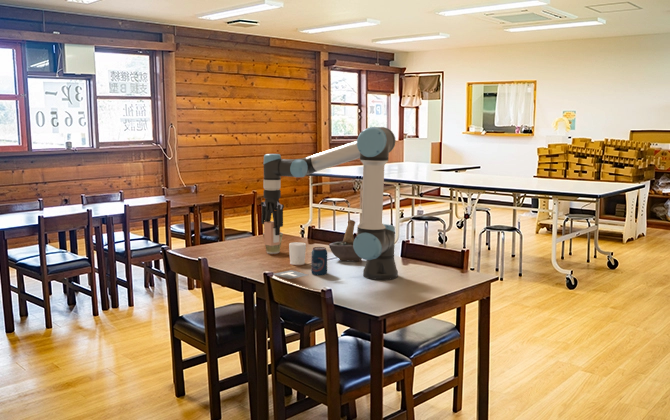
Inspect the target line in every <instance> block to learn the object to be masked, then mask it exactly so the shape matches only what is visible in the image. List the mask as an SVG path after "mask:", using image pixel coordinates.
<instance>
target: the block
mask: <svg viewBox="0 0 670 420" xmlns="http://www.w3.org/2000/svg"><path fill="white" fill-rule="evenodd" d="M273 227H274V221H273V220H270V221H269V222H264V224H263V233H264V237H263V244H264V245H269V246H274V245H280V234H279V242H276V243H273Z"/></svg>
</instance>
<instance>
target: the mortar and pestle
mask: <svg viewBox="0 0 670 420" xmlns="http://www.w3.org/2000/svg"><path fill="white" fill-rule="evenodd" d="M355 225H356V221H355V220H353V219H349V220H348V221H347V227H346V229H345V233H344V237H343V240H342V241H335V242H331V243H329V244H328V246H329V249H330V251H331V253H332V254H333V256H335V257H336V258H338V259H339V261H341V262H359V261H362V260H363V259H362V258H360V257H359V256H358V255H357V254H356V253H355V251H354V248H353V242H354V239H355V238H354V230H355Z"/></svg>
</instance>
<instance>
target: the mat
mask: <svg viewBox="0 0 670 420" xmlns="http://www.w3.org/2000/svg"><path fill="white" fill-rule="evenodd" d="M273 275H274V276H278V277H281V278H284V279H287V280H291V279H296V278H301V277H307V276H308V274H306V273H304V272H300V271H297V270H293V269H292V270H286V271H281V272H275V273H273Z"/></svg>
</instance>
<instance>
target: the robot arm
mask: <svg viewBox="0 0 670 420" xmlns="http://www.w3.org/2000/svg"><path fill="white" fill-rule="evenodd" d="M395 146H396V136H395V133H394V132H393V131H392V130H391V129H390V128H387V127H386V126H385V127H384V126H370V127H367V128H365V129H363V130H362V131H361V132H359V135H357V138H356V140H355V141H352V142H348V143H345V144H344V145H339V146H337V147H334V148H331V149H327V150H325V151H322V152H321V151H320V152H319V153H315V154H313V155H308V156H307V157H303V158H302V157H301V158H293V159H292V158H289V159H288V158H282V156H281V154H279V153H266V154H264V155H263V163H262V166H263V182H262V183H263V189H264V190H263V198H264V201H261V202H260V207H261V214H260V215H261V225H264V222H269V221H274V227H273V243H276V242H279V234H280V232H281V228H282V227H284V207H285V205H284V204H281V203H280V198H282V197H281V195H282V193H281V191H282V190H281V186H282V185H281V184H282V183H281V179H282V177H290V178H304V177H305V176H307V175H308V176H309V175H312V174H314V173H317V172H319V171H323V170H326V169H329V168H333V167H335V166H338V165H342V164H345V163H348V162H349V163H350V162H351V161H355V160H358V159H359V161H360V162H361V163H362V166H363V167H362V169H363V171H362V195H361V198H362V199H361V220H360V221H361V222H360V223H359V224H358V225H357V227H356V228H357V229H356V230H357V231H356V236H355V238H354V242H353V248H354V251H355V253H356V254H357V255H358V256H359V257H360V258H362V259H361V260H365V266H364V268H363V271H362V272H363V273H362V275H363V277H364V278H367V279H371V280H375V281H376V280H378V281H380V280H381V281H386V280H387V281H388V280H394V279H396V278H398V276H399V271H398V269H397V264H396V260H395V248H396V247H395V246H396V245H395V242H396V227H395V226H394V225H393V224H384V223H383V208H384V186H385V185H384V184H385V166H386V164H387V163H388V162H389V156H390V155H389V153H391V152H392V151H393V150H394V148H395ZM272 219H273V220H272Z"/></svg>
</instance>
